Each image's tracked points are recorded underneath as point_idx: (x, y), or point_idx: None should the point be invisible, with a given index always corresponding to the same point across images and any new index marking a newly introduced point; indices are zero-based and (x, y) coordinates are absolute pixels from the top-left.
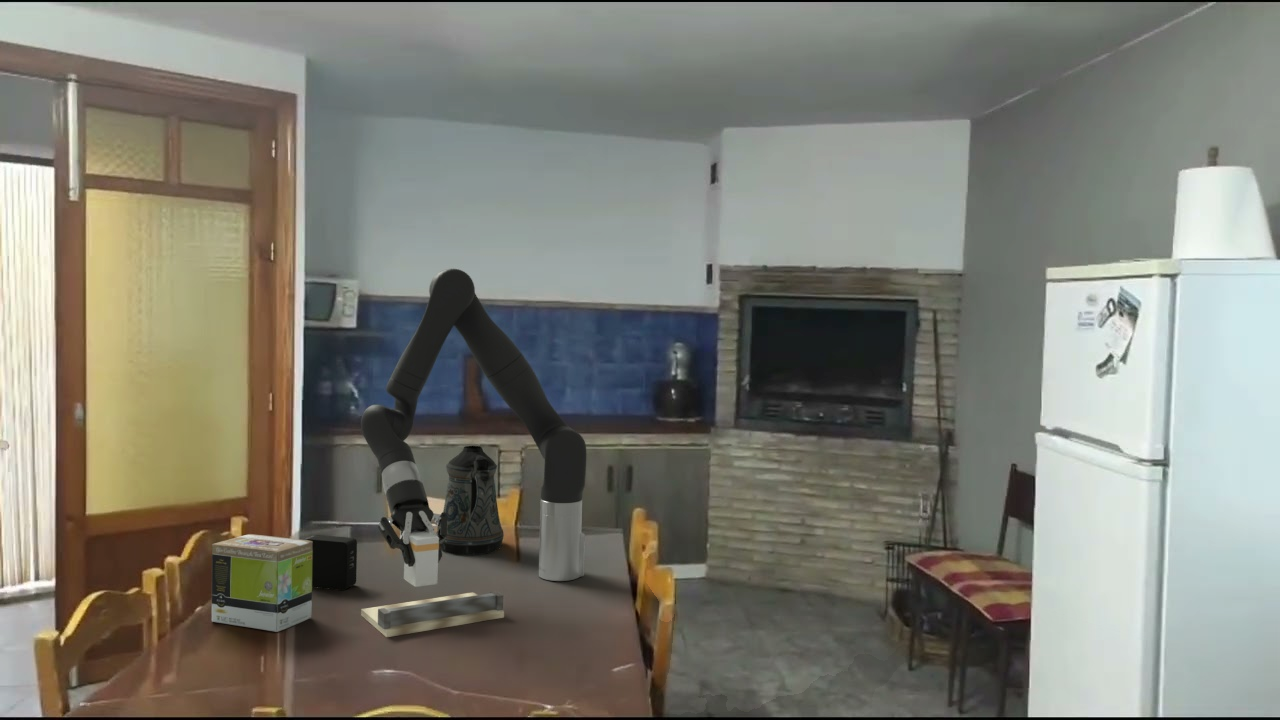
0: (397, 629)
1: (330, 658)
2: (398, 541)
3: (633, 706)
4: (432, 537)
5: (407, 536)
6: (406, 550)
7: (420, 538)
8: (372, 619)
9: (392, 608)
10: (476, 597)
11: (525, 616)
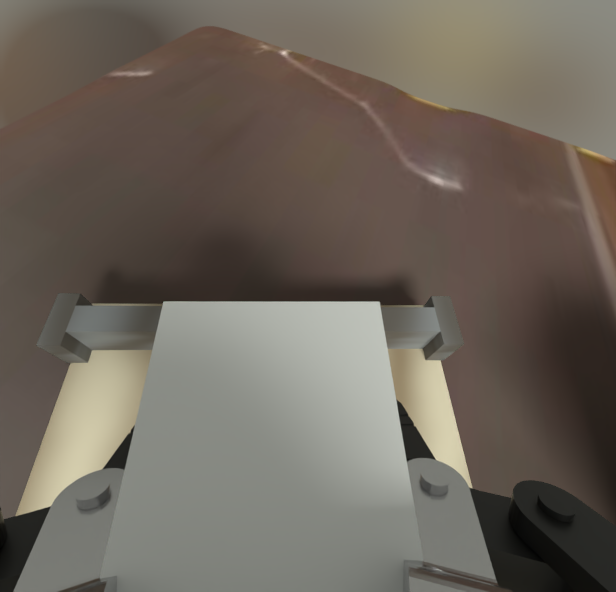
0: (399, 306)
1: (535, 259)
2: (517, 484)
3: (209, 27)
4: (217, 318)
5: (433, 535)
6: (409, 440)
7: (334, 330)
8: (453, 415)
9: (421, 328)
10: (144, 311)
11: (49, 295)
